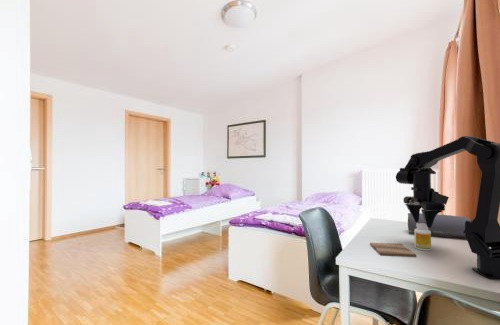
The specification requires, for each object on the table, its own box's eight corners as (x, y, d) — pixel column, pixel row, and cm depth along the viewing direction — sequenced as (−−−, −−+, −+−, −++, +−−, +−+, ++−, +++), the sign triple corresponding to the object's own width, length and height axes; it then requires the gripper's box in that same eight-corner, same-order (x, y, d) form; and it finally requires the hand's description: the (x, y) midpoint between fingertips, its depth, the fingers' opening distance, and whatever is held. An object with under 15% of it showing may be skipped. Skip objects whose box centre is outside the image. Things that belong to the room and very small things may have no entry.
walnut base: (416, 258, 87) (416, 254, 88) (380, 257, 89) (380, 253, 89) (401, 247, 99) (401, 243, 99) (370, 246, 101) (370, 242, 101)
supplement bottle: (434, 251, 93) (433, 226, 93) (418, 250, 94) (418, 225, 94) (426, 246, 98) (426, 222, 98) (412, 245, 99) (411, 222, 100)
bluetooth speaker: (466, 236, 112) (466, 214, 112) (472, 242, 104) (471, 218, 104) (407, 230, 123) (407, 210, 123) (408, 234, 115) (408, 213, 115)
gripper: (461, 187, 86) (462, 231, 86) (430, 183, 104) (431, 220, 104) (426, 187, 88) (427, 230, 88) (402, 183, 106) (403, 219, 106)
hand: (422, 224), depth 96 cm, fingers open, 9 cm apart
